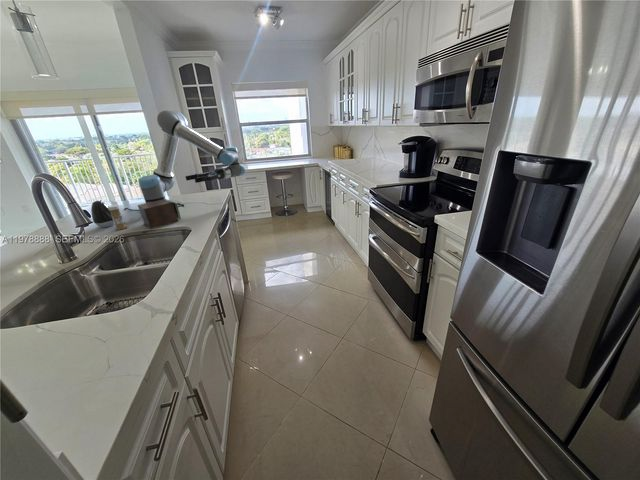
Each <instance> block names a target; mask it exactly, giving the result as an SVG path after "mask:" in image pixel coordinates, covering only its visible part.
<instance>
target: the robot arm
mask: <svg viewBox="0 0 640 480" xmlns="http://www.w3.org/2000/svg"><path fill="white" fill-rule="evenodd" d="M156 121H157V124H158V126H159V127H160V128H161V131H162V133H163V136H162V141H161V146H160V151H159V157H158V160H157V161H158V162H157V167H156V168H154V169H153V171H152V174H148V175H144V176H141V177H140V178H138V186H139V188H140V191H141V194H142V196H143V199H144V202H145V203H149V202H154V201H158V200H163V199H166V200H167V198H166V195H165V192H168V191H169V190H171V189H172V188H173V187H174V184H175V180H174V173H173V172H172V171H173V167H174V163H175V158H176V154H177V149H178V144H179V140H180V139H182V140H183V141H185V142H188V144H191V145H193V146H194V147H196V148H197V149H199V150H201V151H202V152H205V153H206V154H208V155H210V156H211V157H213V158H215V159H217V160H218V161H220V163H221V164H222V165H224V166H221V167H216V168H214V170H213V171H208V172H199V173H195V174H190V175H185V180H186V181H191V180H194V183H195V184H198V183H203V182H208V181H209V182H211V181H214V180H218V181H221V180H224V179H226V180H229V179H231V178H236V177H240V176H243V175H245V173H246V169H245V167H244V165H243V164H241V163H240V158H239V152H238V149H237V147H236V146H226V147H225V148H223V147H222V146H220V145H218V144H217V143H215V142H213V141H212V140H210V139H208V138H206V137H205V136H203V135H201V134H200V133H198V132H196V131H195V130H193V129H191V128H190V127H188V121H187V118H186V117H185V116H184V114H182V113H181V112H178V111H177V110H162V111H160V112H159V113H158V114H157V117H156ZM126 210H128V211H131V212H133V211H134V212H140V210H139V209H131V208H129V207H125V208H124V209H123V211H126Z"/></svg>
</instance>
